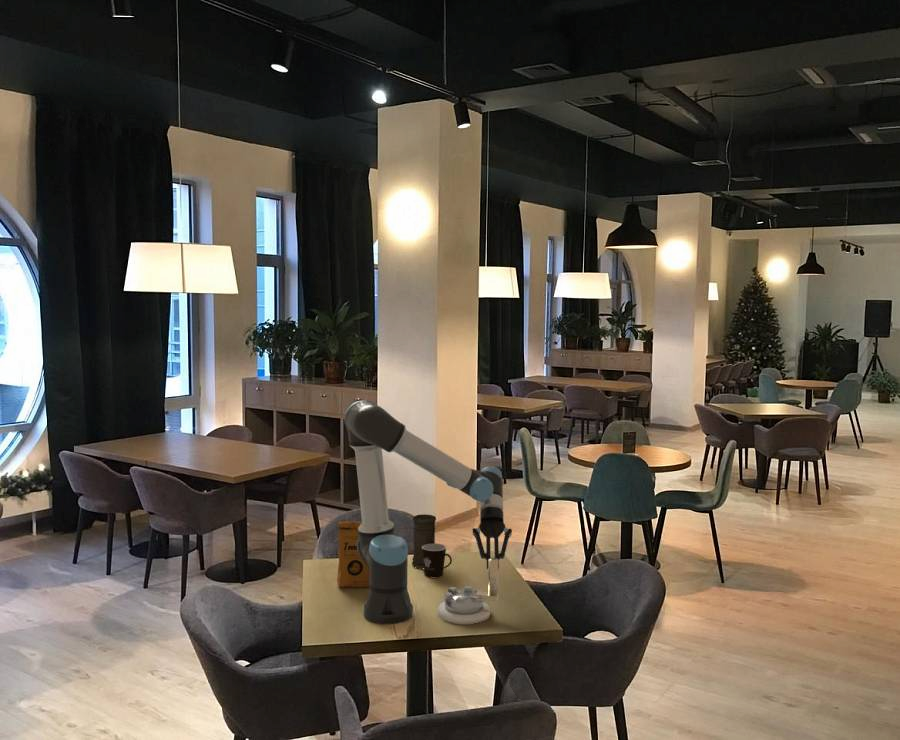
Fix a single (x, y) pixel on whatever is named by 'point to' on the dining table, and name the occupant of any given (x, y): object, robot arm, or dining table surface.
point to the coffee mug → (434, 559)
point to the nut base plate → (463, 618)
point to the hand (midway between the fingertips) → (493, 578)
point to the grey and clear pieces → (473, 594)
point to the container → (422, 536)
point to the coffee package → (351, 557)
